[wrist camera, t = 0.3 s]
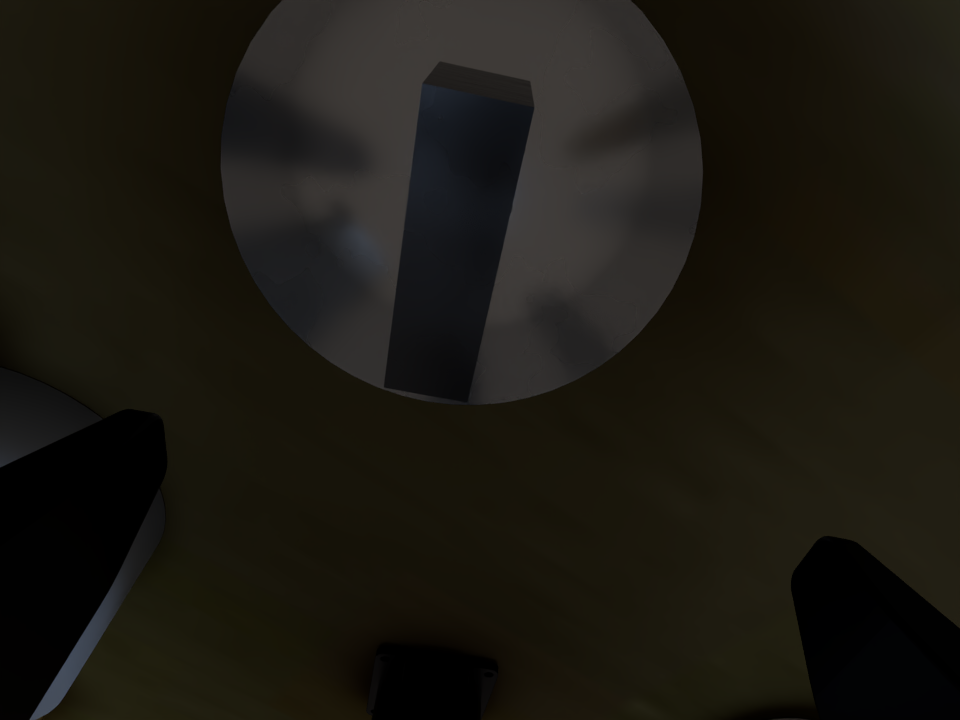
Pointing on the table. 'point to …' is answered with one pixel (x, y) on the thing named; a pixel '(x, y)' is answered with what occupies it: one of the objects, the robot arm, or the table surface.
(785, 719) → the lidded jar
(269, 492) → the table surface
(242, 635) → the table surface
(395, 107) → the lid
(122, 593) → the pot
